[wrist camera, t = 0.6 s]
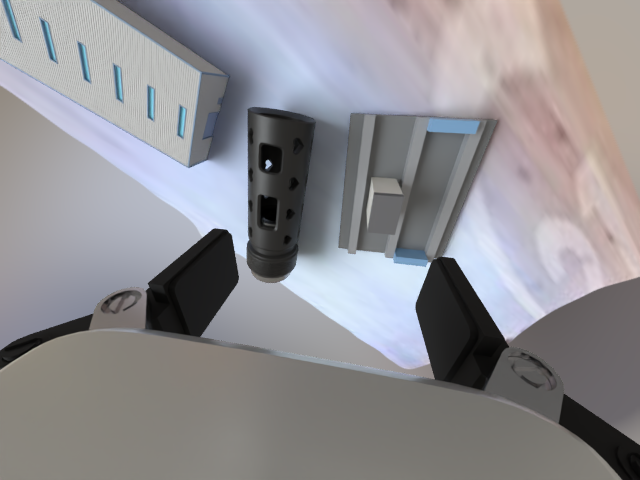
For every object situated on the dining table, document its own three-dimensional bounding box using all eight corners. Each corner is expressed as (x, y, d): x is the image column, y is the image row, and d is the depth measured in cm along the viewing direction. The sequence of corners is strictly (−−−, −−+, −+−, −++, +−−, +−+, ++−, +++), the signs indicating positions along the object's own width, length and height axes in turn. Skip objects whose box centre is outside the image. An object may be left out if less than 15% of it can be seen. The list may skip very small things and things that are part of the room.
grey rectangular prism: (371, 176, 37) (374, 194, 31) (396, 178, 37) (404, 197, 30) (366, 209, 41) (367, 232, 34) (388, 211, 40) (394, 235, 34)
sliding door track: (350, 113, 34) (350, 115, 30) (493, 119, 32) (509, 122, 28) (338, 245, 47) (337, 256, 44) (439, 255, 45) (445, 268, 41)
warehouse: (32, 55, 36) (-37, 47, 30) (13, -71, 29) (-85, -118, 22) (207, 159, 41) (180, 171, 35) (231, 76, 34) (201, 72, 27)
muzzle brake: (322, 118, 35) (310, 125, 26) (300, 257, 50) (288, 291, 42) (263, 105, 35) (231, 108, 26) (259, 247, 51) (238, 279, 42)
